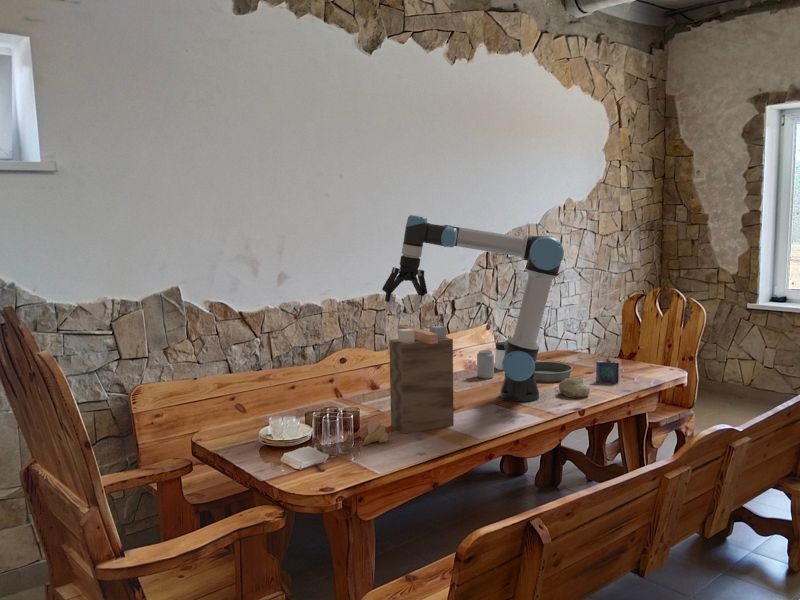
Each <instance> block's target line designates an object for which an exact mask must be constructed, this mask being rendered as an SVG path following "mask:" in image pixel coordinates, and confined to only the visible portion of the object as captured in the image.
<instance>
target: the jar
mask: <svg viewBox="0 0 800 600" xmlns="http://www.w3.org/2000/svg"><path fill="white" fill-rule="evenodd" d="M504 346H505V341H500V342H497V343H496V344H495V349H494V354H495V355H494V369H497V370H498V371H504V370H503V368H502V362H503V359H504V356H505V348H504Z"/></svg>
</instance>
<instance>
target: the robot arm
mask: <svg viewBox="0 0 800 600" xmlns="http://www.w3.org/2000/svg"><path fill="white" fill-rule="evenodd" d="M403 235H404V237H403V242H402V248H401V255H400V259H399V260H400V261H399V268H398V267H394V266H393V267H392V269H391V272H390V275H389V276H388V278H387V280H386V281H385V283H384V284H383V287H382V289H381V291H383V292H385V297H384V301H385V305H384V310H385V311H387V312H391V311H392V305H393V298H394V294H393V292H394V291H395V290H396V289H397V288H398V287H399V285H400V284H401V283H402V282H404V281H406V282H408V281H409V282H411V283H412V285H413V288H414V289H415V291H416V294H415V295H414V301H413V307H412V311H413V312H415V313H419V312H420V306H421V304H422V301H423V300H422V299H423V297H424V296H425V295H428V288H427V284H426V280H425V271H424V270H423V269H419V268H420V265H421V257H422V253H423V246H424V243H425V244H430V245H435V246H439V247H444V248H454V247H459V248H460V247H461V248H465V249H472V250H477V251H484V252H490V253H495V254H502V255H508V256H514V257H520V258H521V259H522V260H524V261H527V263H526V267H525V270H526V273H527V274H528V275H527V276H528V277H527V281H526V284H525V289H524V293H523V297H522V300H521V305H520V309H519V313H518V317H517V321H516V326H515V328H514V333H513V336H512V337H511V338H509V339H506V340H505V341H504V342H505V346H504V348H505V356H504V359H503V362H502V368H503V370H502V371H503V372H504V378H503V382H502V385H501V388H500V393H499V394H500V398H501V399H503V400H506V401H512V402H532V401H536V400H538V399H539V398H540V391H539V387H538V384H537V381H535V362H537V357H538V354H539V351H540V350H539V349H540V347H539V345H538V343H537V341H538V337H539V333H540V328H541V325H542V321H543V318H544V313H545V311H546V310H545V309H546V305H547V302H548V297H549V293H550V289H551V286H552V281H553V280H554V279H556V278H558V275H559V271H560V268H561V263H562V261H563V260H564V255H565V251H564V246H563V245H562V243H561V242H560V240H558V239H557V238H556V237H554V236H551V235H541V236H540V235H529V234H527V235H525V236H518V235H513V234H512V235H511V234H506V233H498V232H491V231H485V230H479V229H472V228H467V227H458V226H452V225H449V224H444V225H441V224H436V223H434V224H433V223H431V222H430V223H429V222H428V217H425V216H420V215H413V214H410V215H409V216H407V219H406V225H405V230H404V234H403Z"/></svg>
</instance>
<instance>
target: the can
mask: <svg viewBox="0 0 800 600" xmlns="http://www.w3.org/2000/svg"><path fill="white" fill-rule="evenodd" d="M494 354H495V353H493V350H491V349H490V350H489V349H481V350H480V349H479V350H478V353H477V354H476V376H477V377H478V378H479V379H483V380H485V379H486V380H487V379H488V380H489V379H492V378H493V377H494V376H495V355H494Z"/></svg>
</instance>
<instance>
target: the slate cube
mask: <svg viewBox="0 0 800 600" xmlns="http://www.w3.org/2000/svg"><path fill="white" fill-rule="evenodd" d="M429 332H432V333H435V334H438V340H439V339H446V337H447V327H446V326H443V325H433V326H429Z"/></svg>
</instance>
